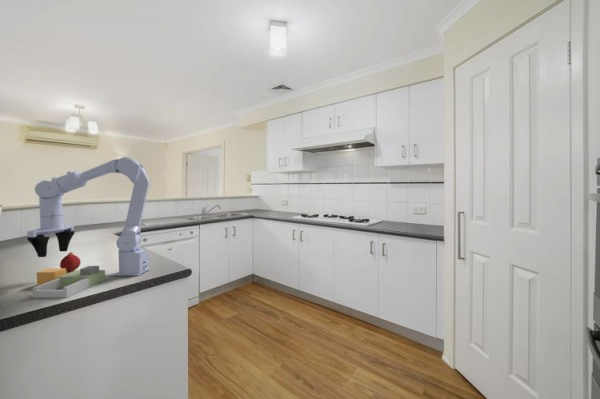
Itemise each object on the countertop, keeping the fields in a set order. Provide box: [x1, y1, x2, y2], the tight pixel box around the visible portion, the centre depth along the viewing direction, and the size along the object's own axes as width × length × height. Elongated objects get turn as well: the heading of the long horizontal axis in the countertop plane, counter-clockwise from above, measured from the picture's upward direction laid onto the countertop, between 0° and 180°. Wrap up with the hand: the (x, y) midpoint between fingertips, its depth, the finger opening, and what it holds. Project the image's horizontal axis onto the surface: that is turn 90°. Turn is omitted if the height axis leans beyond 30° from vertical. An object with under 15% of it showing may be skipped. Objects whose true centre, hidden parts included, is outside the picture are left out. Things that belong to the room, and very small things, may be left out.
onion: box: [59, 251, 81, 273], centre depth 97 cm, size 6×6×8 cm
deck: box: [32, 265, 106, 299], centre depth 82 cm, size 10×15×6 cm, turn 1°
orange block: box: [36, 267, 67, 286], centre depth 85 cm, size 6×4×5 cm, turn 90°
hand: (53, 253), depth 89 cm, fingers open, 7 cm apart
